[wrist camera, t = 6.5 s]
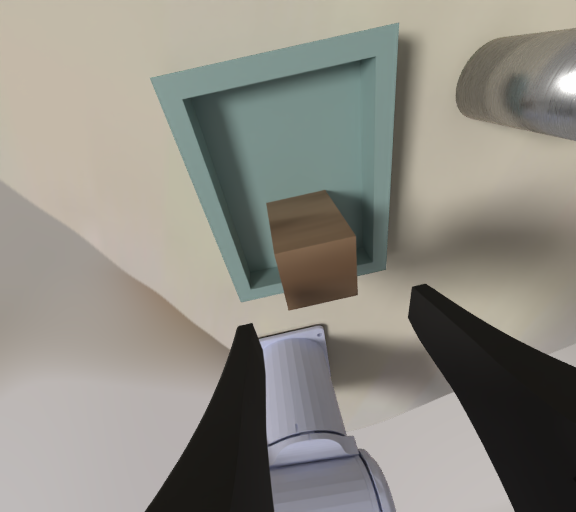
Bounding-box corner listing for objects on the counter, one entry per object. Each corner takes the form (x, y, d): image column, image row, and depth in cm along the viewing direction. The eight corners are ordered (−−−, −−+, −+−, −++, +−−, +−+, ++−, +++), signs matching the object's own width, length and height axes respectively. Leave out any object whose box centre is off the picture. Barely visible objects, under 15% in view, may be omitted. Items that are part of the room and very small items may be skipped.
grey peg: (511, 111, 17) (647, 132, 11) (450, 124, 17) (554, 152, 11) (534, 29, 14) (721, 3, 9) (463, 45, 14) (604, 30, 9)
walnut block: (330, 239, 20) (357, 295, 15) (277, 251, 20) (288, 310, 15) (325, 189, 18) (356, 235, 13) (266, 203, 18) (274, 254, 13)
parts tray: (372, 250, 22) (385, 269, 20) (241, 279, 22) (241, 302, 20) (375, 29, 14) (399, 22, 11) (164, 76, 14) (150, 78, 11)
